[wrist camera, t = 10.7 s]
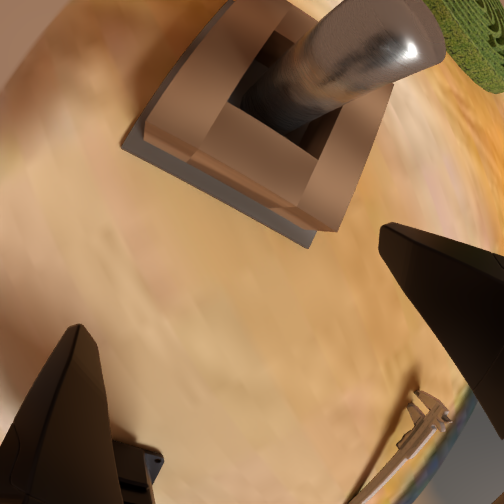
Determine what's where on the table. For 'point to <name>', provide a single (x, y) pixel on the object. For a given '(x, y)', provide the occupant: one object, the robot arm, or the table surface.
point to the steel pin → (345, 61)
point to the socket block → (255, 127)
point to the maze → (474, 38)
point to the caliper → (409, 442)
